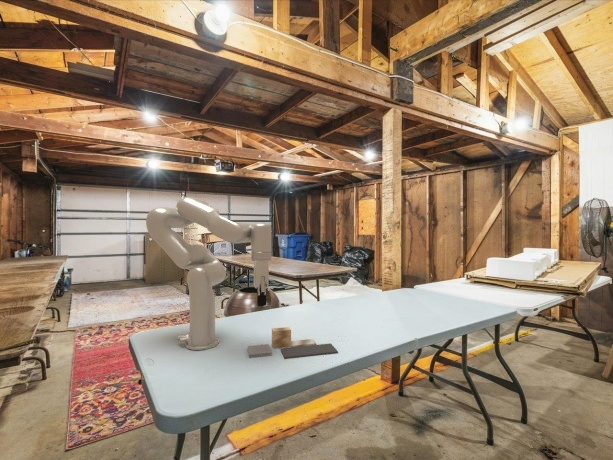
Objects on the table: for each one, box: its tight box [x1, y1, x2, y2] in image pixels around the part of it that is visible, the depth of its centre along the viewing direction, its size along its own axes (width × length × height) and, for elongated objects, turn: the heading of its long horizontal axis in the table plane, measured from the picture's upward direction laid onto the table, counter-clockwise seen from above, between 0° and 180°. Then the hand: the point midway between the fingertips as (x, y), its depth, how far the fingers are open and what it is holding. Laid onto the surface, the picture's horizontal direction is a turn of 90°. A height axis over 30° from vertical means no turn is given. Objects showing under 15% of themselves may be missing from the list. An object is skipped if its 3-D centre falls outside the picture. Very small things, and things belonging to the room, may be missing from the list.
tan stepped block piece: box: [271, 326, 317, 349], centre depth 119 cm, size 17×5×6 cm, turn 105°
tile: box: [247, 343, 273, 359], centre depth 112 cm, size 8×2×8 cm
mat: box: [280, 343, 339, 360], centre depth 113 cm, size 20×8×1 cm, turn 105°
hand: (261, 305), depth 113 cm, fingers closed
